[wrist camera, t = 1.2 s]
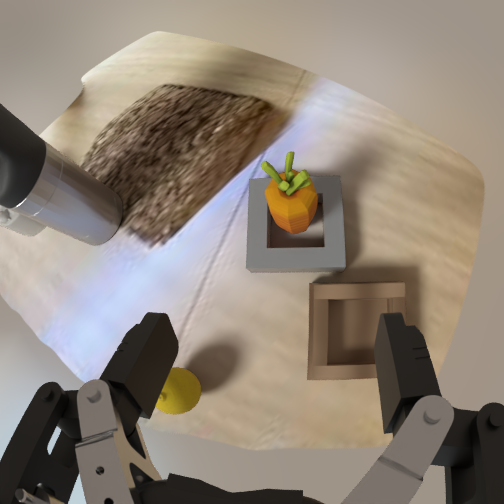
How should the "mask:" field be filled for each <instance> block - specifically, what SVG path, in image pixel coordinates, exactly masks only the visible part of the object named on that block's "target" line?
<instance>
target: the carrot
mask: <svg viewBox="0 0 504 504" xmlns="http://www.w3.org/2000/svg"><path fill="white" fill-rule="evenodd" d="M293 159H294V152H289V153H287V156H286V162H285V172H282V173H279V174H278V173H277V171H276V170H275V169H274V167H273V166H272V165H271V164H270V163H268V162H267V161H264V162H263V163H262V164H261V167H262V169H263V170H264V171H265V172H266V173H267V174H269V175H270V176H271V177H272V180H271V181H270V183H269V185H268V186H267V188H266V190H265V196H266V199H267V203H268V206H269V209H270V212H271V214H272V217H273V219H274V221H275V222H276V224H277V225H278V226H279V227H281V228H282V229H284V230H286V231H288V232H290V233H292V234H297V233H300V232H303V231H306V229H307V228H308V226H309V224H310V222H311V220H312V218H313V217H314V215H315V213H316V209H317V202H318V195H317V193H316V190H315V188H314V185H313V182H312V180H311V178H310V176H309V174H308V172H307V171H306V170H302V171H301V172H298V171H295V170H293V169H292V164H293Z"/></svg>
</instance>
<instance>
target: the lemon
mask: <svg viewBox="0 0 504 504" xmlns="http://www.w3.org/2000/svg"><path fill="white" fill-rule="evenodd" d="M200 396H201V386H200V383H199V380H198V379H197V377H196V376H195V375H194V374H193V373H192V372H190V371H188V370H186V369H183V368H179V367H176V368H171V370H170V373H169V375H168V377H167V380H166V382H165V384H164V387H163V389H162V391H161V394H160V396H159V399H158V401H157V403H156V407H157V408H158V409H159V410H161V411H162V412H165V413H167V414H182V413H185V412H187V411H190V410H191V409H192V408H193V407H195V406H196V404H197V403H198V401H199V399H200Z"/></svg>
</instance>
